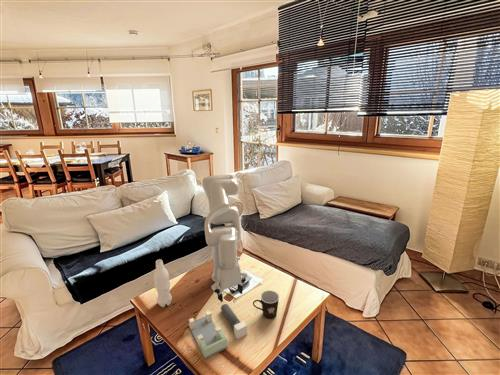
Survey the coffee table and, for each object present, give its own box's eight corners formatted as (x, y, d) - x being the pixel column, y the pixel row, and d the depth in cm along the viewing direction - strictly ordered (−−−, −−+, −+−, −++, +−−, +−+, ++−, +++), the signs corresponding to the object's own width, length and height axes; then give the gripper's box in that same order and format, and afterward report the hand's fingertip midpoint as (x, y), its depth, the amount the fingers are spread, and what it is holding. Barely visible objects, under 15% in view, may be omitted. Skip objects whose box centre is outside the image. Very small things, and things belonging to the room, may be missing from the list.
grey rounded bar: (219, 311, 131) (218, 303, 129) (227, 307, 133) (227, 299, 132) (237, 339, 115) (237, 330, 114) (247, 334, 118) (246, 325, 116)
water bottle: (159, 310, 132) (152, 267, 124) (156, 301, 138) (150, 259, 130) (173, 305, 135) (168, 262, 127) (170, 296, 141) (165, 255, 134)
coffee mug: (280, 309, 131) (280, 292, 128) (276, 322, 123) (276, 305, 120) (257, 304, 135) (257, 287, 131) (252, 316, 127) (252, 299, 124)
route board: (208, 316, 128) (208, 307, 126) (227, 347, 111) (226, 338, 110) (188, 325, 123) (187, 316, 121) (204, 359, 106) (203, 349, 105)
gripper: (242, 253, 122) (243, 285, 127) (206, 264, 114) (209, 298, 119) (250, 260, 116) (251, 293, 121) (213, 273, 107) (216, 308, 112)
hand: (230, 296), depth 120 cm, fingers open, 9 cm apart
